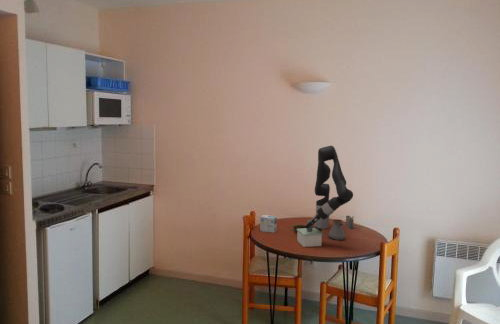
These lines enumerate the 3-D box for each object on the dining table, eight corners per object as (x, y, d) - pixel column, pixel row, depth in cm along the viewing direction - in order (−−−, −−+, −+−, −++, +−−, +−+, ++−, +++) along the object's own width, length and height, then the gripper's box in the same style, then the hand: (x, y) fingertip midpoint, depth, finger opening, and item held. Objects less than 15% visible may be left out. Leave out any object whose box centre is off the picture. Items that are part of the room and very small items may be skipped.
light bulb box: (276, 230, 287) (277, 216, 286) (274, 233, 281) (274, 218, 280) (262, 228, 291) (263, 214, 290) (259, 231, 285) (260, 216, 283)
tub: (314, 241, 264) (314, 229, 263) (321, 246, 253) (321, 234, 252) (297, 242, 262) (297, 230, 261) (303, 248, 250) (303, 235, 249)
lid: (314, 230, 264) (315, 217, 263) (322, 236, 251) (323, 222, 250) (296, 231, 261) (296, 218, 260) (303, 237, 249) (303, 223, 247)
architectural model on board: (353, 229, 294) (354, 216, 293) (349, 229, 294) (350, 216, 293) (349, 225, 306) (350, 213, 304) (345, 225, 306) (346, 213, 304)
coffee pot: (327, 236, 276) (328, 215, 274) (343, 236, 275) (344, 215, 274) (332, 246, 254) (333, 223, 253) (350, 246, 254) (351, 224, 252)
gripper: (324, 203, 258) (306, 219, 263) (319, 208, 245) (300, 224, 250) (332, 212, 256) (313, 227, 262) (327, 217, 243) (308, 233, 249)
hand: (307, 226), depth 256 cm, fingers open, 7 cm apart
